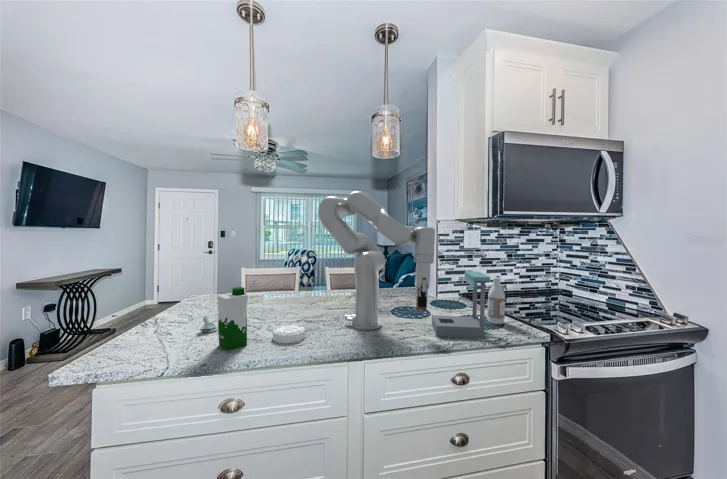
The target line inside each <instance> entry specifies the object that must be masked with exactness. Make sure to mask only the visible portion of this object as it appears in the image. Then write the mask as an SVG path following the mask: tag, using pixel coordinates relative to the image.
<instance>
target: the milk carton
mask: <svg viewBox="0 0 727 479" xmlns="http://www.w3.org/2000/svg"><path fill="white" fill-rule="evenodd" d="M231 291H232V292H230V293H229V292H227V293H224V294H218V295H216V296H217V328H218V329H217V332H218V333H217V334H218V336H217V337H218V345H219V346H220V347H222V349H223V350H225V351H231V349H232V350H234V349H235V350H236V349H238V348H242V347H246V346H248V314H247V313H248V300H249V295H248V294H246V293H245V287H243V286H240V287H239V286H237V287H233V288H232V290H231Z"/></svg>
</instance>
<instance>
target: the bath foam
mask: <svg viewBox="0 0 727 479" xmlns="http://www.w3.org/2000/svg"><path fill="white" fill-rule="evenodd" d="M501 282H502V281H501V277H496V276H495V277H493V282H492V283H493V284H492V285H493V286H492V287H491V288H490V289H489V291H488V293H487V322H488V323H491V324H494V325H503V324H504V323H505V316H506V313H505V312H506V309H505V308H506V294H505V290H503V288H502V286H501Z"/></svg>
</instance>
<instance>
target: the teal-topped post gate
mask: <svg viewBox="0 0 727 479" xmlns="http://www.w3.org/2000/svg"><path fill="white" fill-rule="evenodd" d="M464 281H465V283H468V285H470V286H471V287H472V316H471V317H472V318H474V319H478V318H477V316H478V315H477V310H478V309H477V306H478V282H480V302H479V304H480V305H479V322H480V327H484V328H485V309H486V308H485V306H486V282H491V277H490V276H489V275H486V274H485V273H483V272H482V271H471V270H465V271H464Z"/></svg>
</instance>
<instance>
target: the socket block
mask: <svg viewBox="0 0 727 479" xmlns="http://www.w3.org/2000/svg"><path fill="white" fill-rule="evenodd" d="M472 317H473V316H461V315H460V316H457V315H456V316H455V315H434V314H432V315H431V326H432V328H433V331H434V334H435V336H436V337H450V338H451V337H452V338H455V337H456V338H473V339H474V338H475V339H476V338H478V339H485V326H484V327H480V320H478V318H476V319H474V318H472Z"/></svg>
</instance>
